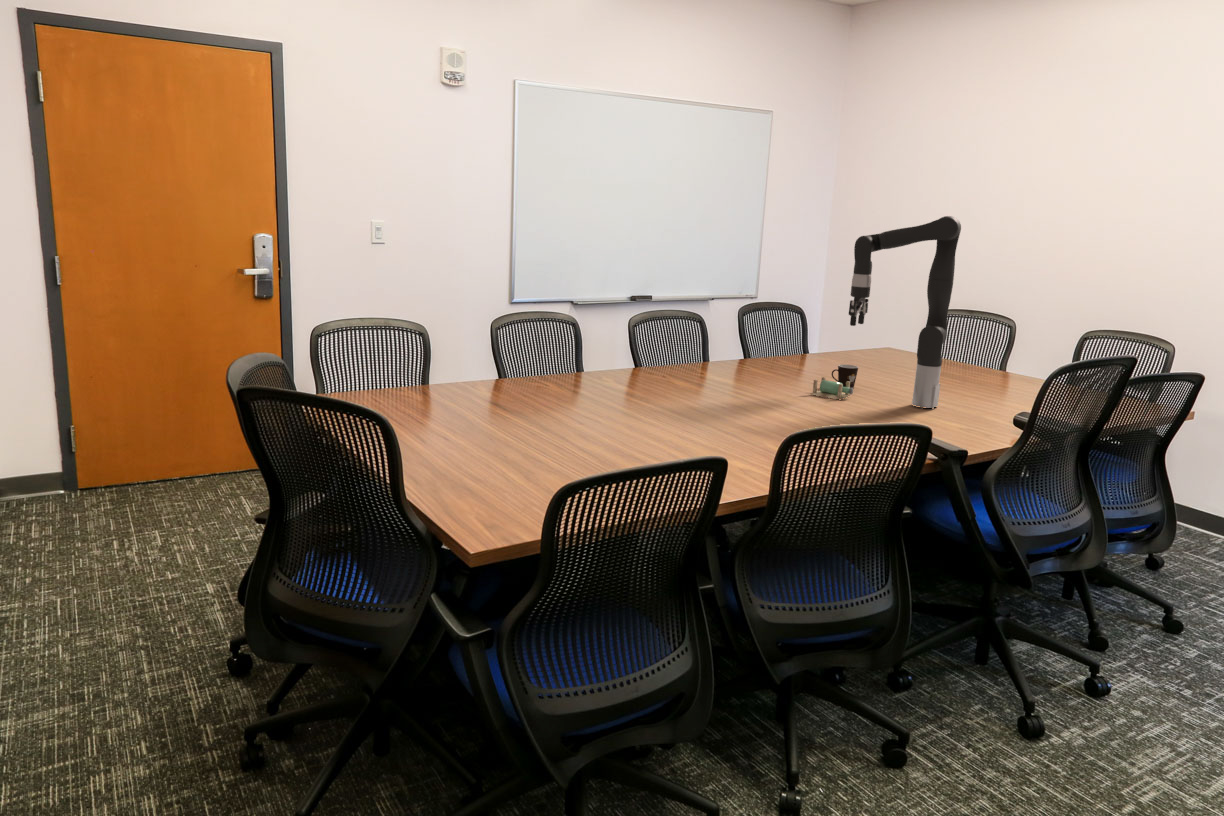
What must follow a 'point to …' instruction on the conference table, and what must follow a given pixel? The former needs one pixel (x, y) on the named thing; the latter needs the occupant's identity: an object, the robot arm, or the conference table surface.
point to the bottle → (833, 387)
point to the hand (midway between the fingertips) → (856, 324)
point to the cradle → (839, 396)
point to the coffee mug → (846, 374)
